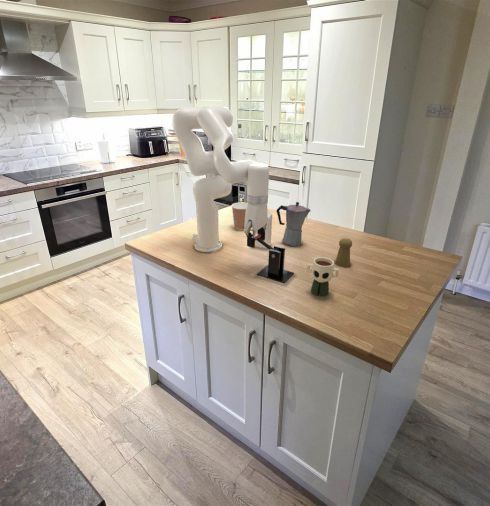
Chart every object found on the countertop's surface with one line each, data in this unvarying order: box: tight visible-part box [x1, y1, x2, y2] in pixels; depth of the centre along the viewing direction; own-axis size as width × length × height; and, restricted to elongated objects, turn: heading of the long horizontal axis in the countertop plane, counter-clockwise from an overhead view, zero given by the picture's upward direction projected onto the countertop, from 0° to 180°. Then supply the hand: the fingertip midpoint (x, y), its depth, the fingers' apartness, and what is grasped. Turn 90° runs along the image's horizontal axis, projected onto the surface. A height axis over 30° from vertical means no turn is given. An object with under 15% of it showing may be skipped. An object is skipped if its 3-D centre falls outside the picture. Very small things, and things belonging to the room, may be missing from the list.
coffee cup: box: [231, 201, 248, 231], centre depth 179 cm, size 10×10×12 cm
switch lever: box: [254, 234, 282, 255], centre depth 132 cm, size 12×5×2 cm, turn 61°
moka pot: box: [276, 201, 312, 247], centre depth 160 cm, size 10×15×20 cm, turn 89°
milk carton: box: [251, 208, 273, 249], centre depth 157 cm, size 7×7×19 cm
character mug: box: [306, 256, 340, 298], centre depth 122 cm, size 11×7×13 cm, turn 69°
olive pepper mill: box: [334, 237, 353, 268], centre depth 144 cm, size 6×6×11 cm
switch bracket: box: [256, 245, 295, 284], centre depth 133 cm, size 12×9×12 cm
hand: (256, 242), depth 135 cm, fingers open, 7 cm apart
